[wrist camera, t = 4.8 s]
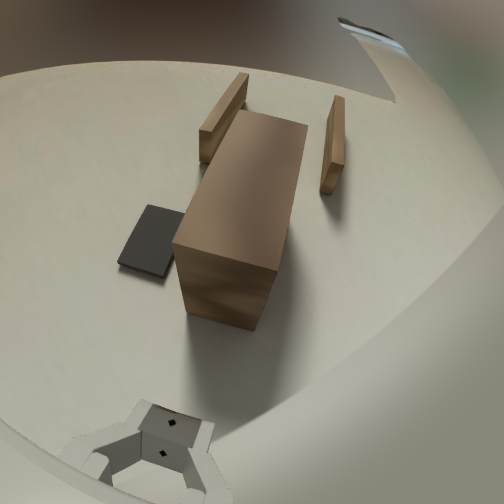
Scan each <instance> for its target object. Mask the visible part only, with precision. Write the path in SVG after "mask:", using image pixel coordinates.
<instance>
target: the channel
mask: <svg viewBox="0 0 504 504" xmlns="http://www.w3.org/2000/svg"><path fill="white" fill-rule="evenodd" d="M248 78H249V74H246V73H241V72H240V73H239V74H238V75H237V77H236V78H235V79H234V81H233V82H232V83H231V85H230V86H229V88H228V89H227V90H226V92H225V93H224V94H223V96H222V97H221V99H220V100H219V101H218V103H217V104H216V106H215V107H214V109H213V110H212V111H211V113H210V114H209V116H208V117H207V119H206V120H205V122H204V123H203V125H202V126H201V128H200V129H199V161H200V162H204V163H209V164H210V163H211V161H212V159H213V157H214V155H215V153H216V151H217V149H218V148H219V146H220V144H221V142H222V140H223V138H224V136H225V135H226V133H227V131H228V129H229V127H230V125H231V124H232V122H233V120H234V118H235V117H236V115H237V113H238V111H239V109H241V107H242V105H243V104H244V102H245V100H246V94H247V86H248ZM344 148H345V98H343V97H340V96H337V95H335V98H334V101H333V104H332V107H331V110H330V113H329V116H328V119H327V128H326V138H325V148H324V157H323V166H322V174H321V183H320V192H323V193H326V194H330V195H331V194H332V192H333V189H334V187H335V185H336V183H337V180H338V178H339V176H340V174H341V171H342V169H343V167H344Z"/></svg>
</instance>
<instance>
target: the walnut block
mask: <svg viewBox="0 0 504 504" xmlns="http://www.w3.org/2000/svg"><path fill="white" fill-rule="evenodd" d="M307 129H308V125H305V124H301V123H297V122H293V121H289V120H285V119H281V118H277V117H273V116H269V115H265V114H260V113H255V112H251V111H246V110H241V109H239V111H238V113H237V115H236V117H235V118H234V120H233V122H232V124H231V125H230V127H229V129H228V131H227V133H226V135H225V136H224V138H223V140H222V142H221V144H220V146H219V148H218V149H217V151H216V153H215V155H214V157H213V159H212V161H211V163H210V165H209V167H208V169H207V170H206V172H205V174H204V176H203V178H202V180H201V182H200V184H199V186H198V188H197V190H196V192H195V194H194V196H193V198H192V200H191V202H190V205H189V207H188V209H187V211H186V213H185V215H184V217H183V219H182V221H181V223H180V225H179V228H178V230H177V232H176V234H175V236H174V238H173V241H172V247H173V252H174V257H175V262H176V267H177V272H178V277H179V282H180V286H181V291H182V296H183V300H184V305H185V309H186V312H187V313H191V314H194V315H197V316H201V317H204V318H208V319H211V320H214V321H218V322H222V323H225V324H229V325H232V326H236V327H240V328H243V329H247V330H251V331H254V330H255V328H256V325H257V323H258V320H259V318H260V315H261V313H262V310H263V308H264V305H265V303H266V300H267V298H268V295H269V293H270V290H271V288H272V285H273V283H274V280H275V278H276V275H277V273H278V269H279V265H280V261H281V256H282V251H283V247H284V242H285V238H286V233H287V228H288V224H289V219H290V214H291V210H292V205H293V200H294V195H295V190H296V185H297V180H298V176H299V171H300V165H301V160H302V155H303V150H304V145H305V140H306V135H307Z"/></svg>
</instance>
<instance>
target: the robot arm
mask: <svg viewBox="0 0 504 504" xmlns="http://www.w3.org/2000/svg"><path fill="white" fill-rule="evenodd" d="M214 428H215V423H212V422H209V421H205V420H201V419H198V418H195V417H191V416H188V415H185V414H181V413H177V412H175V411H172V410H169V409H166V408H164V407H161V406H158V405H156V404H153V403H150V402H148V401H145V400H143V399H142V400H140V401H139V402H138V404H137V405H136V407H135V408H134V410H133V411H132V413H131V414H130V416H129V417H128V419H127V420H126V422H125V424H123V423H119V424H116V425H113V426H110V427H107V428H104V429H101V430H98V431H95V432H92V433H89V434H85V435H82V436H79V437H75V438H72V440H71V441H70V442H69V443H68V445H67V446H66V447H65V448H64V450H63V451H62V452H61V453H60V455H59V456H58V457H57V458H56V457H55V456H53V455H52V454H50V453H48V452H47V451H45V450H44V449H42V448H40V447H39V446H37V445H36V444H34V443H33V442H31V441H30V440H29V439H27V438H26V437H24V436H23V435H21V434H20V433H19V432H17V431H16V430H15V429H13V428H12V427H11V426H9V425H8V424H7V423H5V422H4V421H3V420H2V419H0V504H154V503H151V502H149V501H146V500H143V499H141V498H138V497H135V496H133V495H131V494H128V493H126V492H123V491H121V490H119V489H116V488H114V487H113V483H112V477H111V476H112V475H114V474H116V473H118V472H119V471H121V470H123V469H125V468H127V467H129V466H131V465H133V464H134V463H136V462H138V461H140V460H141V459H142V460H145V461H148V462H151V463H154V464H157V465H160V466H163V467H165V468H168V469H171V470H174V471H177V472H180V473H183V477H184V480H185V483H186V486H187V489H186V490H185V492H184V495H183V498H182V501H181V503H180V504H233V501H234V497H233V496H232V494H231V492H230V490H229V488H228V486H227V485H226V483H225V481H224V479H223V477H222V475H221V473H220V471H219V469H218V467H217V466H216V463H215V461H214V459H213V457H212V455H211V454H209V453H208V450H209V446H210V442H211V439H212V435H213V432H214Z"/></svg>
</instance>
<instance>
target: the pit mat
mask: <svg viewBox="0 0 504 504" xmlns="http://www.w3.org/2000/svg"><path fill="white" fill-rule="evenodd" d="M184 215H185V213H181V212H177V211H173V210H169V209H165V208H161V207H157V206H153V205H149V204H148V205H147V206H146V208H145V210H144V212H143V213H142V215H141V217H140V219H139V221H138V222H137V224H136V226H135V228H134V230H133V232H132V233H131V235H130V237H129V239H128V241H127V243H126V245H125V247H124V249H123V251H122V253H121V255H120V257H119V259H118V261H117V262H118V264H120V265H123V266H126V267H130V268H133V269H136V270H139V271H142V272H145V273H149V274H152V275H155V276H158V277H162V278H164V276H165V274H166V271H167V269H168V267H169V264H170V262H171V260H172V257H173V255H174V252H173V247H172V241H173V238H174V236H175V234H176V232H177V230H178V228H179V225H180V223H181V221H182V219H183V217H184Z"/></svg>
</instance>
